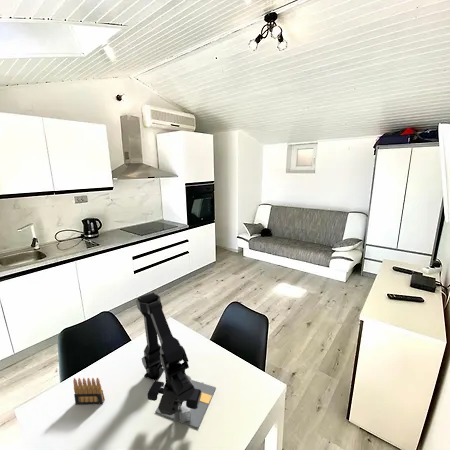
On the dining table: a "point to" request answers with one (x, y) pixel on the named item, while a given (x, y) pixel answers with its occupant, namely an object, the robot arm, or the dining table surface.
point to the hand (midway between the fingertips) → (175, 411)
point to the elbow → (185, 410)
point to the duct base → (203, 404)
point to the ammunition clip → (88, 392)
